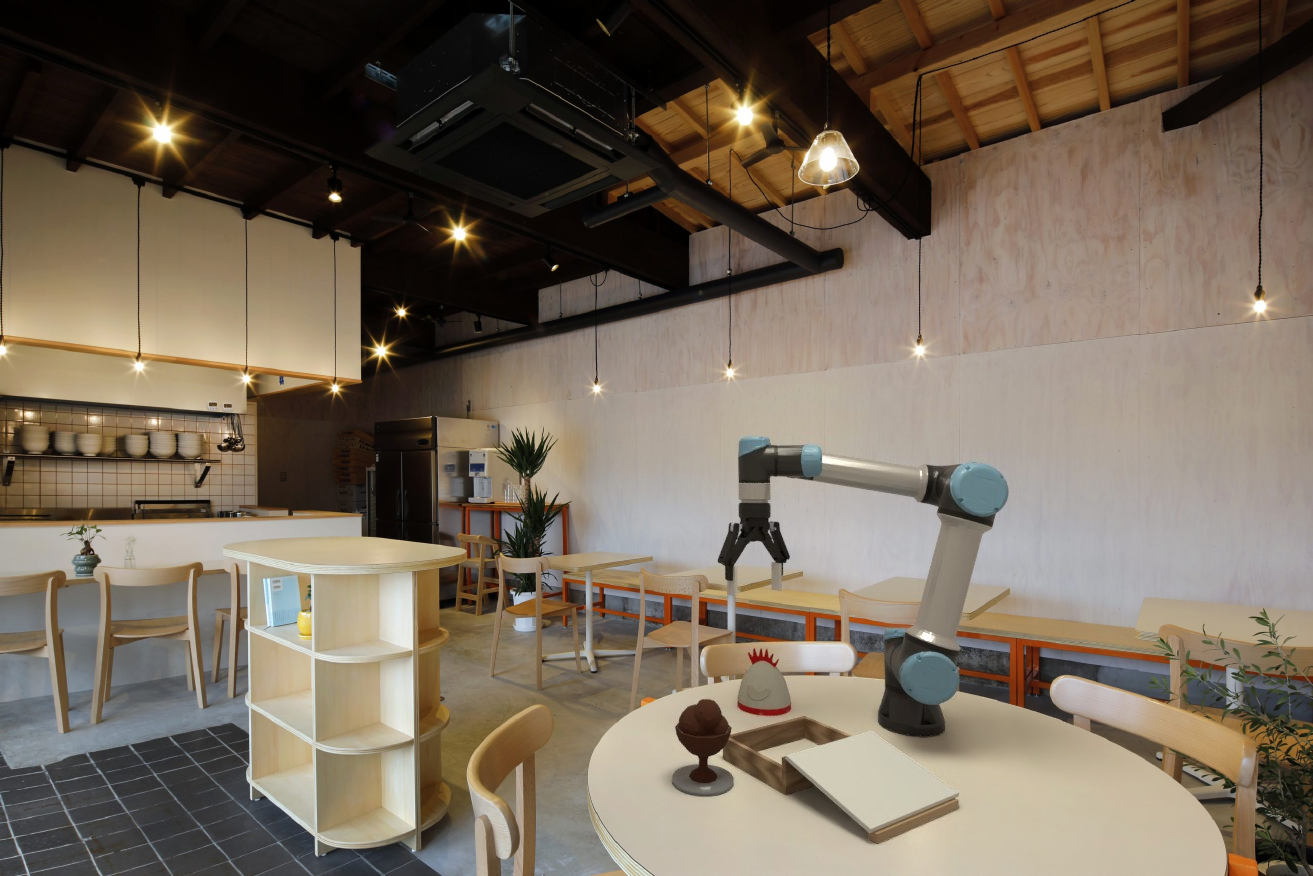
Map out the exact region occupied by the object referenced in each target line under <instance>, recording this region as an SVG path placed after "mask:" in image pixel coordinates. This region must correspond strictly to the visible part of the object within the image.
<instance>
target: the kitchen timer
mask: <svg viewBox="0 0 1313 876" xmlns="http://www.w3.org/2000/svg"><path fill="white" fill-rule="evenodd" d="M768 650H769V649H768V648H766V649H765V651H764V653H763V648H760V650H759V652H758V653H757V650H756V648H755V647H754V648H753V649H752V651H753V652H752V654H751V653H750V652H749V651H748V652H747V655H748V658H749V660H750V662H751V665H750V667H749V668H748V669H747V670H746V672H745V673H743V674H742V675H741V678H742V679H741V682H740V685H739V688H738V693H737V708H738V709H739V710H740V711H743V712H744V713H747V714H750V715H756V716H762V717H777V716H782V715H786V714H788V713H789V712H791V710H792V699H791V694H790V690H789V688H788V684H787V681H786V679H785V677H784V675H783V673H782V672H781V670H780V669H779V667H777V665H778V663H779V660H780V658H777V659H776V661H775V662H773V658H774V653H772V654H771V655H770V656H769V651H768Z"/></svg>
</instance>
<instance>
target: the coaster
mask: <svg viewBox="0 0 1313 876" xmlns="http://www.w3.org/2000/svg"><path fill="white" fill-rule="evenodd" d="M698 767H699V763H697V764H696V763H694V764H688V765H685V766H680V767H679V768H677V769H675V771H674V772H673V773H672V775H671V783H672V786H673V787H674V788H675V789H676V790H678V791H680V793H681V792H682V793H683V794H686V795H690V796H695V797H714V796H716V797H717V796H720V795H723V794H726V793H728V792H729V791H731V790H732V789H733V787H734V785H735V784H734V782H735V781H734V780H735V778H734V776H733V774H732V773H731V772H730V771H729V770H727V769H725V768H723V767H721V766H717V765H713V764H708V768H710V769H712V770H713V771H714V772H715V773H716V774H717V779H716V781H714V782H711V783H698V782H695V781H692V780H691V778H690V777H689V775H690V773H691V771H692V770H694V769H696V768H698Z"/></svg>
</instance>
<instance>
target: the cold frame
mask: <svg viewBox="0 0 1313 876" xmlns="http://www.w3.org/2000/svg"><path fill="white" fill-rule="evenodd" d="M851 736H853V735H851V734H849V733H846V732H844V731H841V730H839V729H837V728H834V727H832V726H830V725H828V724H825V723H823V722H820V721H818V720H815V719H813V718H811V717H809V716H806V715H803V716H799V717H798V716H797V717H796V718H791V719H787V720H783V721H780V722H779V721H778V722H774V723H771V724H767V725H763V726H759V727H755V728H752V729H747V730H744V731H740V732H736V733H732V734H730V737H729V739H728V742H727V743H726V745H725V747H724V748H723V749H722V759H723V760H725V761H726V762H729V763H730V764H732V765H734V767H736V768H739V769H740V770H742V771H744V773H745V772H746V773H747V774H749V775H750V776H752V777H754V778H756V779H757V780H760V782H763V783H764V784H766V785H768V786H770V787H771V788H773V789H775V790H776V791H778V792H780V794H781V793H782V794H784V795H785V796H788V795H790V794H792V793H796V792H798V791H802V790H805V789H808V788H811V787H814V786H815V785H814V784H813V783H812V782H811V781H809V780H808V779H807V778H806V777H805V776H804V775H803V774H802V773H800V772H799V771H798V770H797V769H796V768H795V767H794V766H792V765H791V764H790V763H789V762H788V761H787V760H786V755H784V756H782V757H781V763H779V762H777V761H776V760H773V759H771V758H770V757H768V756H766V755H764V754H762V753H760V751H764V750H767V749H771V748H774V747H778V746H782V745H785V744H789V743H793V742H796V741H800V740H804V739H806V740H808V741H810V742H811V743H815V744H817V745H818V746H820V745H823V744H827V743H830V742H834V741H837V740H841V739H844V738H847V737H851Z"/></svg>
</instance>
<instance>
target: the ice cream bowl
mask: <svg viewBox="0 0 1313 876" xmlns="http://www.w3.org/2000/svg"><path fill="white" fill-rule="evenodd" d="M722 713H723V712H722V710H721V707H720V706H719V704H718V703H717V701H715V700H714V699H713V700H712V699H710V698H707V699H706V698H705V699H703V698H701V699H700V700H699V701H698V702H697V703H696V704H695V703H694V704H692V705H689V706H687V707H686V708H685V709H684V710H683V711H682V712H681V714H680V716H679V718H678V722H677V723H676V725H675V726H674V728H675V734H676V736H677V739H678V741H679V743H681V745H682V747H684V748H685V749H686V750H687V752H688V753H690V754H692V755H693V756H697V758H698V764H699V767H698V768H696V769H694V770H692V771H691V773H690V775H689V777H690V778H691V780H692V781H695V782H698V783H711V782H714V781H716V779H717V774H716V773H715V772H714V771H713V770H712V769H710V768H708V765H709V764H708V763H709V761H708V760H709V757H712V756H715V755H717V754H718V753H720V752H721V751H723V748H724V747H725V745H726V743H727V742H728V739H729V737H730V735H731V733H732V730H733V728H732V726H731V725H729V722H728V720H727V719H726V717H725V716H724V715H723V714H722Z"/></svg>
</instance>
